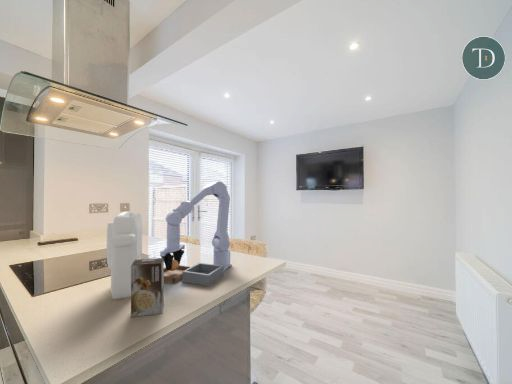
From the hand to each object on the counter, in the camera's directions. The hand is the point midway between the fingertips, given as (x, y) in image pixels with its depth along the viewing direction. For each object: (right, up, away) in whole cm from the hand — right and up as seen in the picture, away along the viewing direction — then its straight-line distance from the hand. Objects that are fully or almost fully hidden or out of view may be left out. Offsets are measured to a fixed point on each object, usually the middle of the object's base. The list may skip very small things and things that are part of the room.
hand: (172, 268), depth 104 cm
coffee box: (+3, -4, -31) cm, 31 cm away
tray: (0, -4, 0) cm, 4 cm away
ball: (0, +1, 0) cm, 1 cm away
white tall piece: (-14, -4, -14) cm, 20 cm away
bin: (+15, -4, -3) cm, 16 cm away
